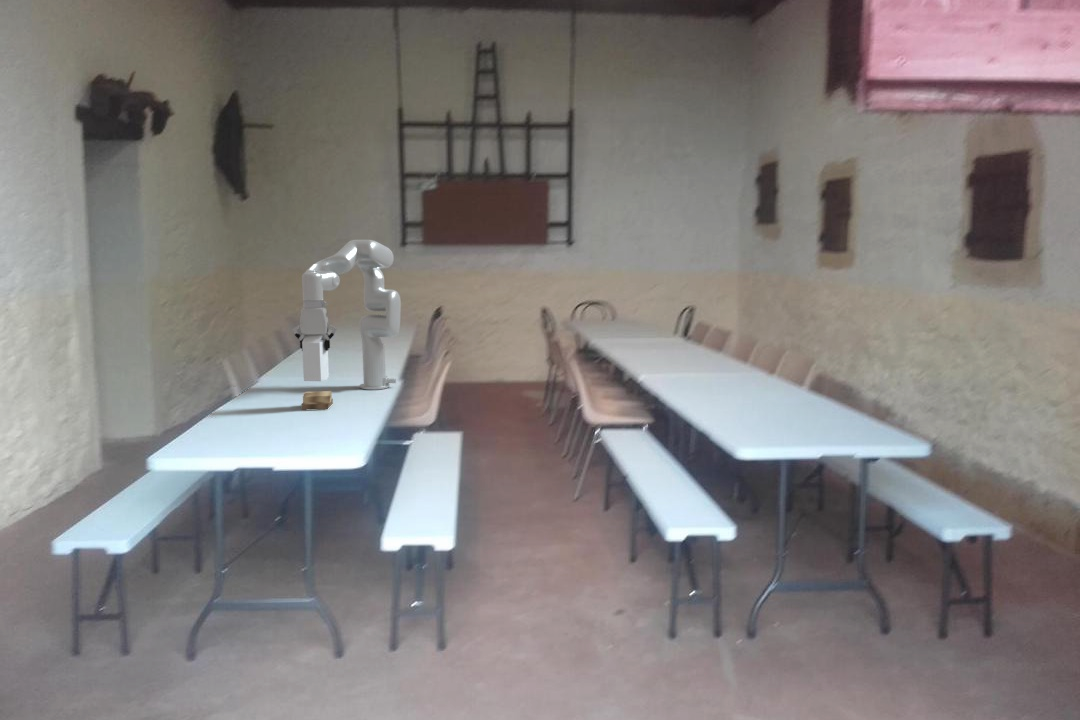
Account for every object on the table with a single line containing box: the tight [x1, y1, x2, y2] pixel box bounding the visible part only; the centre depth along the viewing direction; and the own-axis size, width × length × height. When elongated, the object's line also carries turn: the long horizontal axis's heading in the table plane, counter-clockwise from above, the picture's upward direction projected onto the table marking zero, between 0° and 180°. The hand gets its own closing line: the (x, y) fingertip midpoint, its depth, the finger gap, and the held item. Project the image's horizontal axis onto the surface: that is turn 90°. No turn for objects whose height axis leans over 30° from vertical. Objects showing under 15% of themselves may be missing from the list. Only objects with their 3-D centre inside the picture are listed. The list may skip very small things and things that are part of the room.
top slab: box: [302, 390, 333, 404], centre depth 341 cm, size 10×10×3 cm
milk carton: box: [301, 335, 330, 382], centre depth 339 cm, size 7×7×19 cm
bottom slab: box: [301, 398, 334, 411], centre depth 342 cm, size 10×10×3 cm
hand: (315, 350), depth 338 cm, fingers closed on milk carton, 8 cm apart
